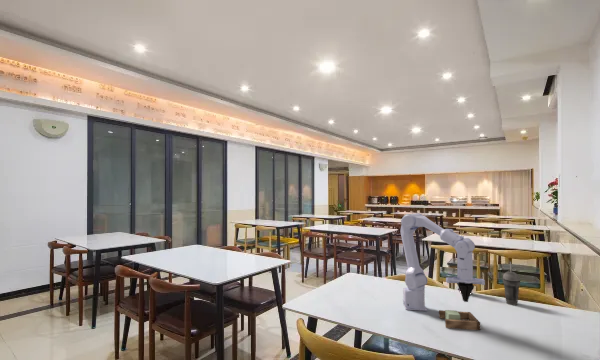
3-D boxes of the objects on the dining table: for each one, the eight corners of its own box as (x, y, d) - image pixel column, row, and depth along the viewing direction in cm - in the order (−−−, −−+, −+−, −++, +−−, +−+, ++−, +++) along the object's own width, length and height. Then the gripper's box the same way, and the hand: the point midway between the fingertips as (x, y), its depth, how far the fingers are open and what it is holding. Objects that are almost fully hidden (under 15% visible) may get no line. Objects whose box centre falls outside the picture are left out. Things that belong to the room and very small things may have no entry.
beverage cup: (504, 305, 149) (504, 263, 150) (501, 299, 156) (500, 260, 157) (522, 307, 147) (522, 264, 147) (518, 301, 153) (517, 261, 154)
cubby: (446, 327, 125) (446, 320, 125) (439, 317, 135) (439, 310, 135) (480, 330, 123) (480, 322, 123) (470, 319, 133) (470, 312, 133)
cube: (448, 325, 128) (448, 314, 128) (445, 320, 132) (445, 309, 132) (460, 326, 127) (460, 314, 127) (456, 321, 131) (456, 310, 132)
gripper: (449, 269, 127) (449, 303, 126) (487, 271, 124) (488, 305, 124) (444, 265, 134) (444, 297, 133) (480, 267, 131) (481, 299, 131)
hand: (465, 301), depth 129 cm, fingers closed
